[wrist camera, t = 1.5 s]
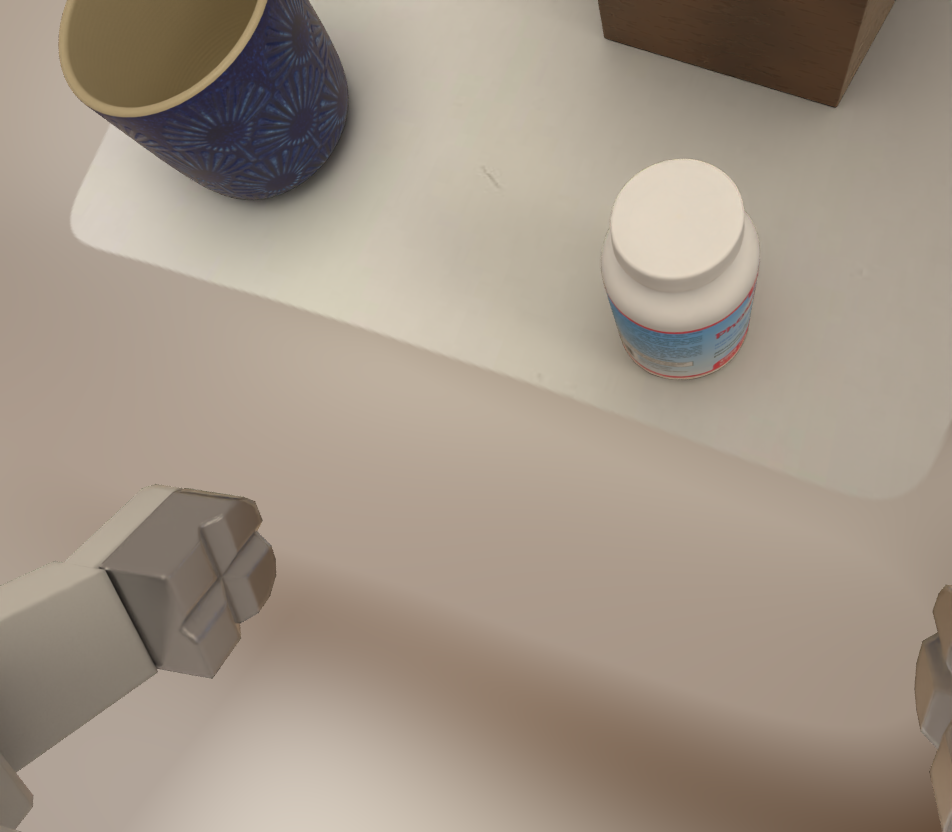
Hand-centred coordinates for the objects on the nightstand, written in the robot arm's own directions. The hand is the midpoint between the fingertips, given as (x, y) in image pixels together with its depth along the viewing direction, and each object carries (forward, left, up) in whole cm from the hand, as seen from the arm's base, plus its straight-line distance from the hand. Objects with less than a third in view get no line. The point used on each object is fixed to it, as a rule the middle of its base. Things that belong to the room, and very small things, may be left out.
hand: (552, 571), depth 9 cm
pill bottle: (+5, -11, -27) cm, 30 cm away
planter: (+33, -12, -27) cm, 44 cm away
